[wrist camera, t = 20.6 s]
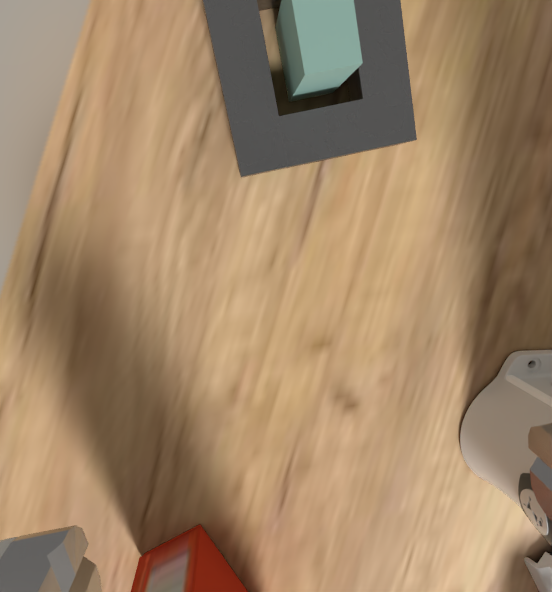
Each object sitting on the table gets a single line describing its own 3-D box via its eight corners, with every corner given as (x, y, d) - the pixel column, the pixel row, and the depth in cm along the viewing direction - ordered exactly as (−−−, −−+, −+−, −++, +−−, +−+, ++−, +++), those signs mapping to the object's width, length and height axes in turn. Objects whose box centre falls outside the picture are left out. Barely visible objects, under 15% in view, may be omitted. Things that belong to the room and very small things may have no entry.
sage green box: (320, 18, 38) (348, -38, 29) (332, 92, 40) (362, 63, 30) (275, 27, 38) (287, -26, 29) (288, 102, 40) (305, 75, 30)
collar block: (373, -68, 37) (388, -98, 33) (400, 144, 41) (416, 139, 37) (195, -33, 37) (190, -59, 33) (241, 177, 41) (241, 176, 37)
